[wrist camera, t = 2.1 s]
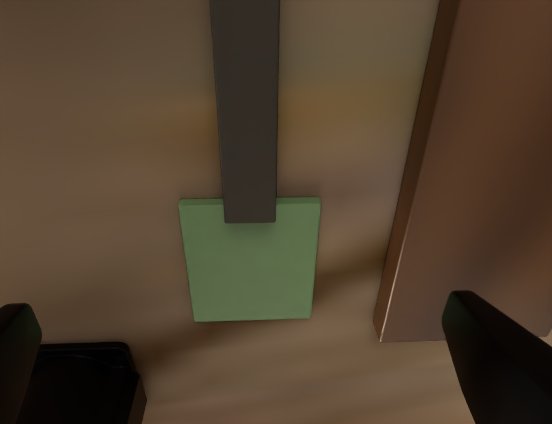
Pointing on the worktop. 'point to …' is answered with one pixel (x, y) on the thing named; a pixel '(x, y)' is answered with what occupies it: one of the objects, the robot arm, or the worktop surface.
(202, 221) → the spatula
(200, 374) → the worktop surface
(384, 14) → the worktop surface
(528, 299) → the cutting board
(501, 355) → the robot arm
